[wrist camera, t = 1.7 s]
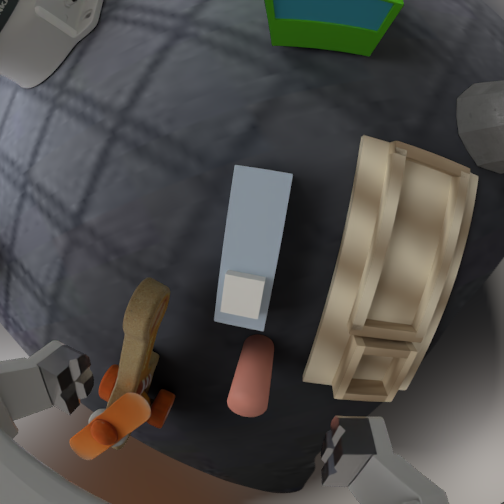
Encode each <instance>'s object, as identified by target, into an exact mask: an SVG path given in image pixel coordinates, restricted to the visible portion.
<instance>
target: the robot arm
mask: <svg viewBox="0 0 504 504" xmlns="http://www.w3.org/2000/svg"><path fill="white" fill-rule="evenodd" d="M102 3H103V0H0V75H2V76H5V77H7V78H9V79H10V80H12V81H14V82H15V83H17V84H18V85H19V86H20V87H22V88H32V87H34V86H36V85H38V84H40V83H41V82H43V81H44V80H45V79H46V78H47V77H49V76H50V75H51V74H52V73H53V72H54V71H55V70H56V69H57V67H58V66H59V65H60V64H61V63H62V62H63V60H64V59H65V58H66V56H67V55H68V54H69V52H70V51H71V50H72V48H73V47H74V46H75V45H76V44H77V43H78V42H79V41H80V40H81V39H82V38H84V37H85V36H86V35H87V34H88V33H90V32H91V31H92V30H93V29H94V28H95V26H96V25H97V23H98V20H99V16H100V11H101V7H102ZM90 365H91V363H90V359H89V357H88V356H87V355H86V354H84V353H82V352H80V351H78V350H76V349H74V348H72V347H70V346H68V345H65V344H63V343H61V342H59V341H58V340H55V341H52V342H50V343H49V344H47V345H46V346H45V347H43V348H42V349H40V350H39V351H38V352H36V353H35V354H33V355H32V356H31V357H29V358H28V359H26V358H19V359H13V360H6V361H0V504H111V503H109V502H107V501H105V500H102V499H101V498H99V497H97V496H95V495H93V494H91V493H90V492H88V491H86V490H84V489H82V488H81V487H79V486H77V485H76V484H74V483H72V482H71V481H69V480H67V479H66V478H64V477H63V476H61V475H59V474H58V473H57V472H55V471H54V470H52V469H51V468H49V467H48V466H46V465H45V464H44V463H42V462H41V461H39V460H38V459H37V458H35V457H34V456H33V455H32V454H30V453H29V452H28V451H26V450H25V449H24V448H23V447H21V446H20V445H19V444H18V443H17V442H15V441H14V440H13V438H14V437H15V436H16V435H17V434H18V429H17V427H16V425H15V424H14V422H13V421H14V420H17V419H20V418H23V417H26V416H28V415H31V414H34V413H37V412H39V411H42V410H45V409H48V408H51V407H53V406H54V407H56V408H58V409H60V410H61V411H63V412H65V413H67V414H69V415H71V414H72V412H74V411H75V409H76V408H77V407H78V406H79V405H80V399H83V398H86V397H88V395H89V394H90V393H91V391H92V389H93V386H94V377H93V374H92V372H91V371H90V369H89V367H90ZM52 405H53V406H52ZM321 459H322V460H323V462H324V463H325V465H324V466H323V468H322V486H339V487H340V486H341V487H348V489H349V490H350V491H351V493H352V494H353V495H354V497H355V498H356V499H357V500H358V502H359V503H360V504H449V502H448V498H447V495H446V492H444V491H443V490H442V489H441V488H439V487H438V486H437V485H435V484H434V483H433V482H432V481H431V480H429V479H428V478H427V477H426V476H424V475H423V474H422V473H421V472H419V471H418V470H417V469H416V468H414V467H413V466H412V465H411V464H409V463H408V462H407V461H406V460H405V459H404V458H402V457H401V456H400V455H399V454H394V453H393V449H392V446H391V442H390V439H389V436H388V432H387V429H386V426H385V422H384V419H383V418H382V417H355V416H335V417H334V418H333V420H332V422H331V430H330V431H329V432H327V433H326V435H325V437H324V439H323V443H322V448H321ZM501 504H504V502H503V503H501Z"/></svg>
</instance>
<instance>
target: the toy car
mask: <svg viewBox="0 0 504 504" xmlns="http://www.w3.org/2000/svg"><path fill="white" fill-rule="evenodd" d="M264 1H265V7H266V12H267V18H268V24H269V30H270V36H271V42H272V46H293V47H306V48H317V49H326V50H333V51H341V52H347V53H353V54H359V55H364V56H369V57H370V55H371V54H372V52H373V50H374V49H375V47H376V46H377V44H378V43H379V41H380V40H381V38H382V37H383V35H384V34H385V32H386V31H387V29H388V28H389V26H390V25H391V24H392V22H393V21H394V19H395V18H396V16H397V15H398V13H399V12H400V10H401V9H402V7H403V6H404V3H403V0H264Z"/></svg>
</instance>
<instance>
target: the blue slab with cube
mask: <svg viewBox="0 0 504 504" xmlns="http://www.w3.org/2000/svg"><path fill="white" fill-rule="evenodd" d="M292 177H293V174H290V173H284V172H278V171H273V170H266V169H260V168H254V167H247V166H240V165H235V167H234V174H233V180H232V187H231V194H230V201H229V207H228V214H227V221H226V229H225V236H224V243H223V251H222V258H221V266H220V274H219V282H218V290H217V298H216V307H215V315H214V321H216V322H220V323H225V324H229V325H234V326H239V327H244V328H249V329H254V330H259V331H264V327H265V322H266V317H267V312H268V307H269V302H270V297H271V292H272V287H273V282H274V277H275V271H276V266H277V261H278V256H279V250H280V245H281V240H282V234H283V229H284V223H285V218H286V212H287V206H288V201H289V195H290V189H291V183H292Z"/></svg>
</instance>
